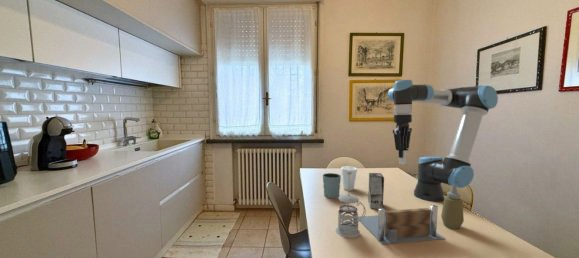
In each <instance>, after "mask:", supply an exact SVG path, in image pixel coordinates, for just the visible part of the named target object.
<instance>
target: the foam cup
mask: <svg viewBox="0 0 579 258" xmlns="http://www.w3.org/2000/svg"><path fill="white" fill-rule="evenodd" d="M340 169H341V172H340V173H341V179H342V187H343V190H345V191H353V190H354V189H355V185H356V183H355V182H356V178H357V173H358V169H357V167H355V166H348V165H346V166H341V168H340ZM347 171H351V173H352V174H350V175H349V174H347Z"/></svg>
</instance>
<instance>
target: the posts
mask: <svg viewBox="0 0 579 258" xmlns="http://www.w3.org/2000/svg"><path fill="white" fill-rule="evenodd" d="M430 209H431V216H430V234H429V235H430V236H434V237H435V236H436V232H437V230H438V229H437V228H438V227H437V226H438V209H439V207H438V205H435V204H431V205H430ZM377 210H378V213H377V214H378V237H377V238H376V239H377V241H378V242H380V241H384V232H385V215H386V214H385V212H386V209H385V208H384V207H383V208H379V209H377ZM388 242H389V243H390V242H397V229H396V228H391V229H388Z"/></svg>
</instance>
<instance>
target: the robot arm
mask: <svg viewBox="0 0 579 258" xmlns="http://www.w3.org/2000/svg"><path fill="white" fill-rule="evenodd" d="M387 98H388V100H389V101H390V102H393V113H394V115H393V123H395V124H396V125H395V129H392V134H393V137H394V138H393V139H394V140H393V141H394V147H395V150H396V151H398V165H402V166H404V165H407V164H406V163H407V161H406V160H407V158H406V157H407V151H408V152H409V148H410V142H411V135H412V131H413V128H411V127H410V124H411V123H412V122H413V115H412V113H413V103H418V104H419V103H421V104H432V105H433V104H434V105H435V104H436V105H437V104H438V105H439V106H442V107H448V108H449V107H450V108H455V109H460V110H461V112H462V115H461V117H460V120H459V124H458V127H457V131H456V133H455V135H454V139H453V142H452V145H451V148H450V152H449V154H448V155H446V156H444V158H443V157H442V156H429V155H428V156H421V157H419V159H418V164H417V182H416V185H415V188H414V190H413V195H414V197H416V198H419V199H421V200H425V201H431V202H440V201H441V202H442V201H444V198H445V193H444V189H443V187H442V184H445V185H448V186H451V187H452V185H456V188H460V189H462V188H463V189H464V188H466V187H468V186H469V185H470V184H471V182H472V181H473V180H474V175H475V173H474V168H472V167H471V165H472V163H471V161H470V160H469V159H470V158H471V153H472V150H473V148H474V145H475V141H476V137H477V136H478V132H479V129H480V126H481V123H482V120H483V117H484V116H485V115H486V116H487V115H488V114H489V110H492V109H495V108H496V106H497V105H498V100H499V95H498V92H497V91H496V89H495V88H494V87H493V86H492V85H476V86H464V87H462V86H461V87H455V88H442V89H434V87H433V86H432V85H431V84H425V83H424V84H413V80H412V79H399V80H395V82H394V86H393V87H391V88H390V89H388V92H387Z"/></svg>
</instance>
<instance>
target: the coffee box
mask: <svg viewBox="0 0 579 258" xmlns="http://www.w3.org/2000/svg"><path fill="white" fill-rule="evenodd" d="M384 191H385V177H384V175H383V174H382V173H380V172H377V173H376V172H369V173H368V205H369V209H377V210H378V209H379V208H383V209H384Z"/></svg>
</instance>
